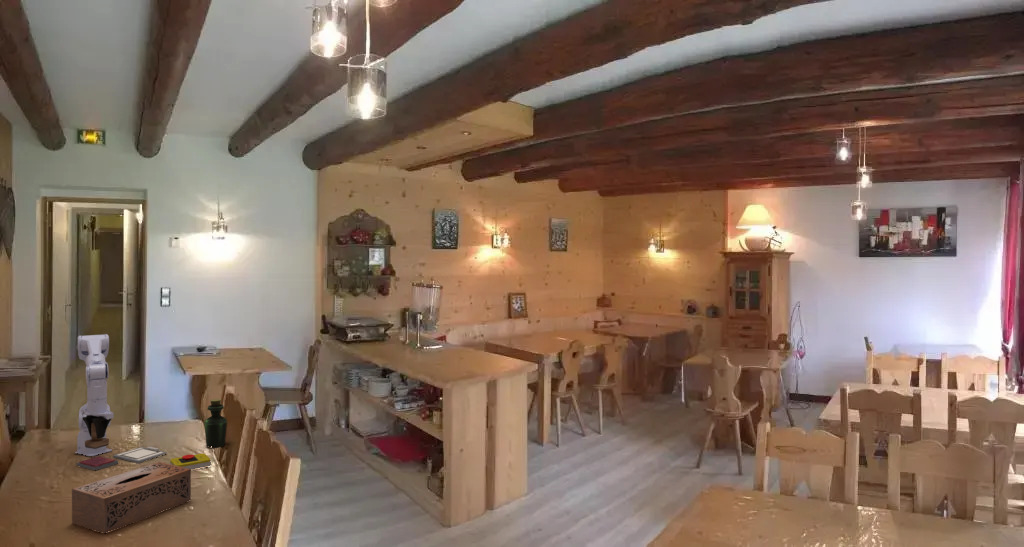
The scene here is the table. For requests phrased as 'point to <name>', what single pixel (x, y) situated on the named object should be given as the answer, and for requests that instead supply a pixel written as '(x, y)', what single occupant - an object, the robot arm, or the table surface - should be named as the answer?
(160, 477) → the tissue box cover
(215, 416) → the potion bottle
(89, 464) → the ink pad
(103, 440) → the stamp
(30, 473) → the table surface
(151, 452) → the grey white rectangular board
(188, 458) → the emergency button
